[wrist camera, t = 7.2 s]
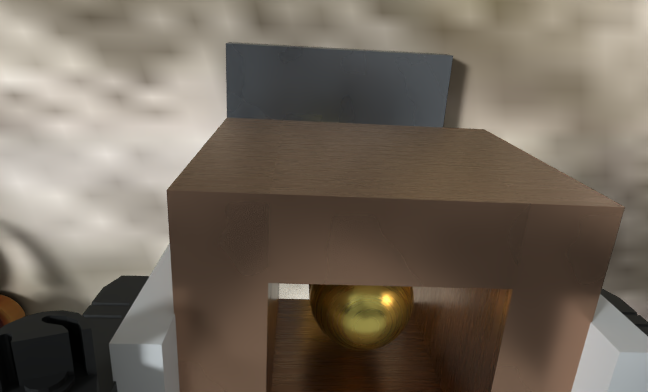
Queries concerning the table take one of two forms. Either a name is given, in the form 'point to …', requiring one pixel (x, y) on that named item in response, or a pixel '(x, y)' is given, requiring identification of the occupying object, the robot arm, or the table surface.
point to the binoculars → (9, 310)
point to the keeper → (343, 107)
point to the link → (382, 258)
